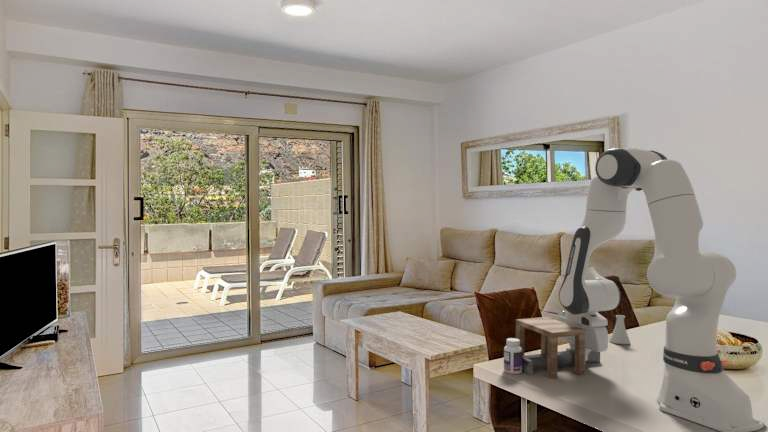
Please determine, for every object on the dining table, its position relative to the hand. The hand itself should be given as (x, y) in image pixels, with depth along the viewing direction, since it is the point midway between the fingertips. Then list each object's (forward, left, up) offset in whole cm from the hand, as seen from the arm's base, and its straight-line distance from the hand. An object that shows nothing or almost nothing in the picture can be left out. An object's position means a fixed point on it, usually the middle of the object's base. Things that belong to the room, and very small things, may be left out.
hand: (579, 358), depth 160 cm
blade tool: (0, +8, -2) cm, 8 cm away
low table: (0, +12, -2) cm, 12 cm away
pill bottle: (0, +25, -2) cm, 25 cm away
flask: (+15, -32, -2) cm, 35 cm away
